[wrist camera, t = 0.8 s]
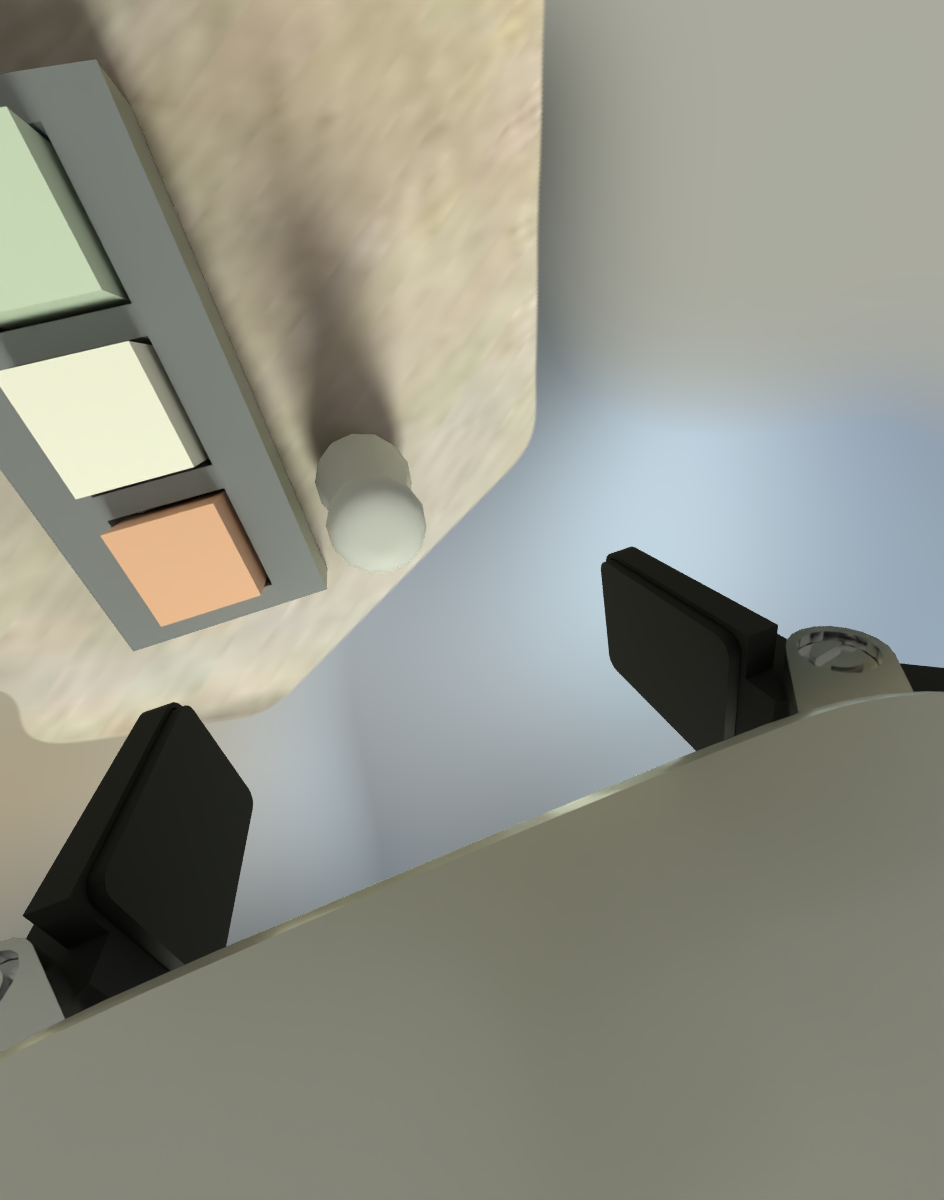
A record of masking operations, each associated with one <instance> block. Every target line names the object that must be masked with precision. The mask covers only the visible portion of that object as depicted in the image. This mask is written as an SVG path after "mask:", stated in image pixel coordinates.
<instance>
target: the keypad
mask: <svg viewBox="0 0 944 1200" xmlns="http://www.w3.org/2000/svg"><path fill="white" fill-rule="evenodd" d="M6 106H7V107H8V108H9V109H10V110H11V111H13V112H14V113H15V114H16V115H17V116H18V117H20V118H21V119H22V120H23V121H24V122H26V123H27V124H28V125H29V126H30V127H32V128H33V129H34V130H35V131H36V132H38V133H39V134H40V135H41V136H42V137H44V138H45V139H46V140H47V141H48V142H50V143H51V144H52V145H53V147H54V149H55V151H56V153H57V155H58V157H59V159H60V161H61V163H62V165H63V167H64V169H65V171H66V173H67V175H68V177H69V179H70V181H71V183H72V185H73V187H74V189H75V191H76V193H77V195H78V197H79V199H80V201H81V203H82V205H83V207H84V209H85V211H86V213H87V215H88V217H89V219H90V221H91V223H92V225H93V227H94V229H95V231H96V233H97V235H98V237H99V239H100V241H101V243H102V245H103V247H104V249H105V251H106V253H107V255H108V257H109V259H110V261H111V263H112V265H113V267H114V269H115V271H116V273H117V275H118V277H119V279H120V281H121V283H122V285H123V287H124V289H125V291H126V293H127V295H128V297H129V299H130V301H131V303H132V304H128V305H123V306H119V307H114V308H110V309H105V310H101V311H96V312H92V313H87V314H83V315H78V316H74V317H69V318H65V319H60V320H56V321H51V322H47V323H42V324H38V325H33V326H29V327H23V328H18V329H14V330H8V329H2V328H0V371H1V370H6V369H10V368H14V367H18V366H23V365H27V364H31V363H36V362H40V361H44V360H49V359H53V358H57V357H61V356H66V355H70V354H74V353H79V352H83V351H87V350H91V349H96V348H100V347H104V346H109V345H113V344H117V343H122V342H126V341H132V342H137V343H142V344H147V345H153V347H154V349H155V351H156V353H157V355H158V357H159V359H160V361H161V363H162V365H163V367H164V369H165V371H166V373H167V375H168V377H169V379H170V381H171V383H172V385H173V387H174V389H175V391H176V393H177V395H178V397H179V399H180V401H181V403H182V405H183V407H184V409H185V411H186V413H187V415H188V417H189V419H190V421H191V423H192V425H193V427H194V429H195V431H196V433H197V435H198V437H199V439H200V441H201V443H202V445H203V447H204V449H205V451H206V453H207V455H208V457H209V459H210V460H207V461H203V462H201V463H200V464H198V465H197V466H195V467H192V468H189V469H185V470H182V471H178V472H174V473H171V474H167V475H163V476H160V477H156V478H152V479H149V480H145V481H141V482H138V483H134V484H130V485H127V486H123V487H119V488H116V489H112V490H108V491H105V492H101V493H97V494H94V495H90V496H87V497H83V498H79V499H75V498H74V496H73V495H72V493H71V492H70V490H69V489H68V487H67V486H66V484H65V483H64V481H63V480H62V478H61V477H60V475H59V474H58V472H57V471H56V469H55V468H54V466H53V465H52V463H51V462H50V460H49V459H48V457H47V456H46V454H45V453H44V451H43V450H42V448H41V447H40V445H39V444H38V442H37V441H36V439H35V438H34V436H33V435H32V434H31V432H30V431H29V429H28V428H27V426H26V425H25V423H24V422H23V420H22V419H21V417H20V416H19V414H18V413H17V411H16V410H15V408H14V407H13V405H12V404H11V402H10V401H9V399H8V398H7V396H6V395H5V393H4V392H3V390H2V389H1V387H0V470H1V471H2V472H3V474H4V475H5V476H6V478H7V479H8V480H9V482H10V483H11V485H12V486H13V487H14V489H15V490H16V491H17V493H18V494H19V496H20V497H21V498H22V500H23V501H24V502H25V504H26V505H27V506H28V508H29V509H30V511H31V512H32V513H33V515H34V516H35V517H36V519H37V520H38V522H39V523H40V524H41V526H42V527H43V528H44V530H45V531H46V532H47V534H48V535H49V537H50V538H51V539H52V541H53V542H54V543H55V545H56V546H57V548H58V549H59V550H60V552H61V553H62V554H63V556H64V557H65V558H66V560H67V561H68V563H69V564H70V565H71V567H72V568H73V569H74V571H75V572H76V574H77V575H78V576H79V578H80V579H81V580H82V582H83V583H84V584H85V586H86V587H87V589H88V590H89V591H90V593H91V594H92V595H93V597H94V598H95V600H96V601H97V602H98V604H99V605H100V606H101V608H102V609H103V610H104V612H105V613H106V615H107V616H108V617H109V619H110V620H111V621H112V623H113V624H114V626H115V627H116V628H117V630H118V631H119V632H120V634H121V635H122V636H123V638H124V639H125V641H126V642H127V643H128V645H129V646H130V647H131V649H132V650H133V651H136V650H139V649H142V648H145V647H148V646H152V645H155V644H158V643H161V642H164V641H167V640H170V639H173V638H176V637H180V636H183V635H186V634H189V633H192V632H195V631H198V630H201V629H204V628H208V627H211V626H214V625H217V624H220V623H223V622H226V621H229V620H232V619H236V618H239V617H242V616H245V615H248V614H251V613H254V612H257V611H260V610H264V609H267V608H270V607H273V606H276V605H279V604H282V603H285V602H288V601H292V600H295V599H298V598H301V597H304V596H307V595H310V594H313V593H316V592H320V591H323V590H326V589H327V567H326V565H325V563H324V560H323V558H322V556H321V553H320V551H319V548H318V546H317V544H316V541H315V539H314V537H313V534H312V532H311V530H310V527H309V525H308V523H307V520H306V518H305V515H304V513H303V511H302V508H301V506H300V504H299V501H298V499H297V497H296V494H295V492H294V489H293V487H292V485H291V482H290V480H289V478H288V475H287V473H286V471H285V468H284V466H283V464H282V461H281V459H280V456H279V454H278V452H277V449H276V447H275V445H274V442H273V440H272V438H271V435H270V433H269V431H268V428H267V426H266V423H265V421H264V419H263V416H262V414H261V412H260V409H259V407H258V405H257V402H256V400H255V398H254V395H253V393H252V390H251V388H250V386H249V383H248V381H247V379H246V376H245V374H244V372H243V369H242V367H241V365H240V362H239V360H238V357H237V355H236V353H235V350H234V348H233V346H232V343H231V341H230V339H229V336H228V334H227V331H226V329H225V327H224V324H223V322H222V320H221V317H220V315H219V313H218V310H217V308H216V306H215V303H214V301H213V298H212V296H211V294H210V291H209V289H208V287H207V284H206V282H205V280H204V277H203V275H202V273H201V270H200V268H199V265H198V263H197V261H196V258H195V256H194V254H193V251H192V249H191V247H190V244H189V242H188V240H187V237H186V235H185V232H184V230H183V228H182V225H181V223H180V221H179V218H178V216H177V214H176V211H175V209H174V207H173V204H172V202H171V199H170V197H169V195H168V192H167V190H166V188H165V185H164V183H163V181H162V178H161V176H160V173H159V171H158V169H157V166H156V164H155V162H154V159H153V157H152V155H151V152H150V150H149V148H148V145H147V143H146V140H145V138H144V136H143V133H142V131H141V129H140V126H139V124H138V122H137V119H136V117H135V115H134V112H133V110H132V107H131V106H130V105H129V103H128V102H127V101H126V99H125V98H124V97H123V95H122V94H121V93H120V91H119V90H118V89H117V87H116V86H115V84H114V83H113V82H112V80H111V79H110V78H109V76H108V75H107V74H106V72H105V71H104V70H103V68H102V67H101V66H100V64H99V63H98V61H97V60H96V59H93V60H87V61H80V62H73V63H67V64H60V65H54V66H47V67H40V68H34V69H27V70H21V71H14V72H7V73H1V74H0V107H6ZM222 488H224V489H225V491H226V493H227V495H228V497H229V499H230V501H231V503H232V505H233V507H234V509H235V511H236V513H237V515H238V517H239V519H240V521H241V523H242V525H243V527H244V529H245V531H246V533H247V535H248V537H249V539H250V541H251V543H252V545H253V547H254V549H255V551H256V553H257V555H258V557H259V559H260V561H261V563H262V565H263V567H264V569H265V571H266V573H267V575H268V576H267V579H266V582H265V585H264V588H263V591H262V594H261V595H260V596H257V597H254V598H251V599H248V600H245V601H241V602H238V603H235V604H232V605H229V606H226V607H222V608H219V609H216V610H213V611H210V612H207V613H204V614H200V615H197V616H194V617H191V618H188V619H185V620H181V621H178V622H175V623H172V624H169V625H166V626H162V627H161V626H160V624H159V623H158V621H157V620H156V618H155V617H154V615H153V614H152V612H151V611H150V609H149V608H148V606H147V605H146V603H145V602H144V600H143V599H142V597H141V596H140V594H139V593H138V591H137V590H136V588H135V587H134V585H133V584H132V582H131V581H130V579H129V578H128V577H127V575H126V574H125V572H124V571H123V569H122V568H121V566H120V565H119V563H118V562H117V560H116V559H115V557H114V556H113V554H112V553H111V551H110V550H109V548H108V547H107V545H106V544H105V542H104V541H103V539H102V538H101V536H100V535H102V534H103V533H105V532H106V531H108V530H109V529H111V528H112V527H114V526H115V525H117V524H118V523H120V522H121V521H123V520H124V519H126V518H127V517H129V516H133V515H136V514H138V512H141V511H145V510H148V509H152V508H155V507H159V506H162V505H166V504H169V503H173V502H176V501H180V500H183V499H187V498H191V497H194V496H198V495H201V494H205V493H208V492H212V491H215V490H219V489H222Z"/></svg>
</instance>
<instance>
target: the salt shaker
mask: <svg viewBox="0 0 944 1200" xmlns="http://www.w3.org/2000/svg"><path fill="white" fill-rule="evenodd" d="M315 483H316V487H317V490H318V493H319V496H320V499H321V502H322V504H323V505H324V506H325V507H326V508H327V509H328V510H329V512H328V517H327V523H326V528H327V530H328V533H329V536H330V539H331V542H332V545H333V547H334V549H335V550H336V551H337V553H338V554H339V555H340V556H341V557H342V558H343V559H344V560H345V561H346V562H347V563H348V564H349V565H350V566H352V567H355V568H358V569H360V570H363V571H365V572H368V573H386V572H392V571H394V570H396V569H398V568H400V567H402V566H404V565H406V564H408V563H409V562H410V561H411V560H412V558H413V557H414V556H415V555H416V554H417V553H418V551H419V550H420V549H421V548H422V543H423V539H424V535H425V531H426V522H425V517H424V512H423V507H422V503H421V502H420V501H419V500H418V498H417V497H416V496H415V495H414V493H413V492H412V491H411V490H410V489H411V484H412V482H411V477H410V472H409V467H408V462H407V461H406V460H405V459H404V457H403V456H402V455H401V454H400V452H399V451H398V450H397V448H396V447H395V446H394V445H393V444H391V443H389V442H387V441H385V440H384V439H382V438H380V437H378V436H377V435H375V434H350V435H348V436H346V437H344V438H341V439H339V440H337V441H335V442H332V443H331V444H330V446H329V447H328V448H327V450H326V451H325V453H324V454H323V455H322V457H321V458H320V459H319V461H318V467H317V473H316V480H315Z"/></svg>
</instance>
